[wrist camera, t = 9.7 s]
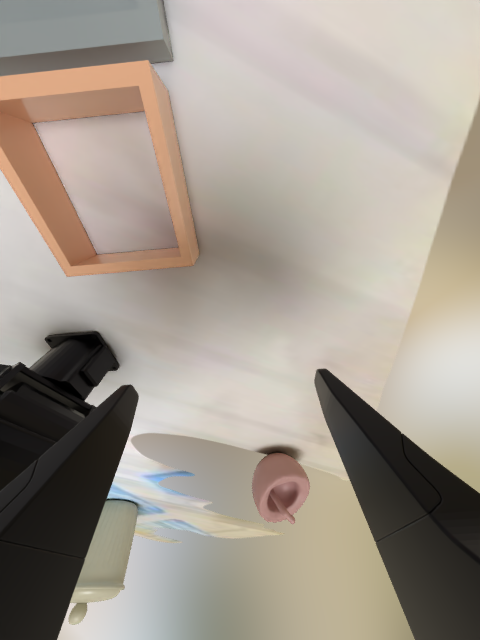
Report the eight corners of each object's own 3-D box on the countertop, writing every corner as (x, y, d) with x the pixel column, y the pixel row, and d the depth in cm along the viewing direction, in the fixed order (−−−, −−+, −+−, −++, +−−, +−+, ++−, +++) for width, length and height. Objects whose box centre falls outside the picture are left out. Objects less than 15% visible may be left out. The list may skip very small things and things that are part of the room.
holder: (93, 263, 19) (66, 276, 16) (12, 107, 13) (-54, 82, 10) (199, 254, 18) (193, 265, 16) (167, 90, 13) (148, 60, 10)
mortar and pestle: (311, 451, 44) (333, 522, 35) (276, 468, 49) (287, 534, 40) (274, 437, 40) (286, 514, 30) (240, 458, 45) (241, 528, 36)
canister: (77, 496, 57) (8, 629, 40) (137, 493, 57) (94, 625, 40) (102, 512, 67) (57, 624, 50) (153, 509, 68) (125, 620, 50)
